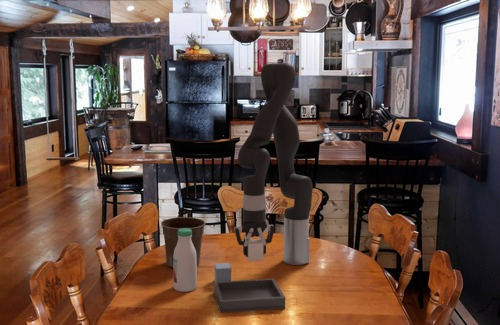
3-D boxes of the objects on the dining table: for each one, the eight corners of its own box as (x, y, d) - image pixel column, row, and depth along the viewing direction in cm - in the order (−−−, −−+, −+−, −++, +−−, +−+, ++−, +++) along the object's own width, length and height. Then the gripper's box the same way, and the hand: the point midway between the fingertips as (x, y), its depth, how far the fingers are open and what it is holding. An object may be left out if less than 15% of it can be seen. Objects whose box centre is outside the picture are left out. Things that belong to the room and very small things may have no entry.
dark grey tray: (273, 288, 191) (273, 278, 190) (285, 308, 175) (285, 297, 175) (213, 292, 187) (213, 281, 187) (220, 312, 172) (220, 301, 171)
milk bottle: (200, 285, 193) (200, 227, 189) (190, 293, 186) (190, 234, 182) (179, 282, 195) (179, 225, 192) (169, 290, 188) (168, 231, 185)
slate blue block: (229, 279, 198) (229, 263, 197) (231, 285, 194) (231, 268, 193) (214, 280, 198) (214, 263, 197) (216, 285, 193) (216, 268, 192)
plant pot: (200, 255, 223) (199, 215, 220) (210, 269, 208) (210, 226, 205) (158, 259, 218) (157, 218, 215) (165, 274, 203) (165, 230, 200)
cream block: (260, 255, 197) (260, 238, 196) (263, 260, 192) (263, 243, 191) (246, 256, 196) (245, 239, 195) (248, 261, 191) (248, 244, 190)
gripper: (272, 202, 196) (272, 250, 199) (231, 205, 193) (231, 253, 196) (277, 208, 188) (277, 257, 192) (234, 211, 186) (235, 261, 189)
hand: (254, 255), depth 194 cm, fingers closed on cream block, 5 cm apart
